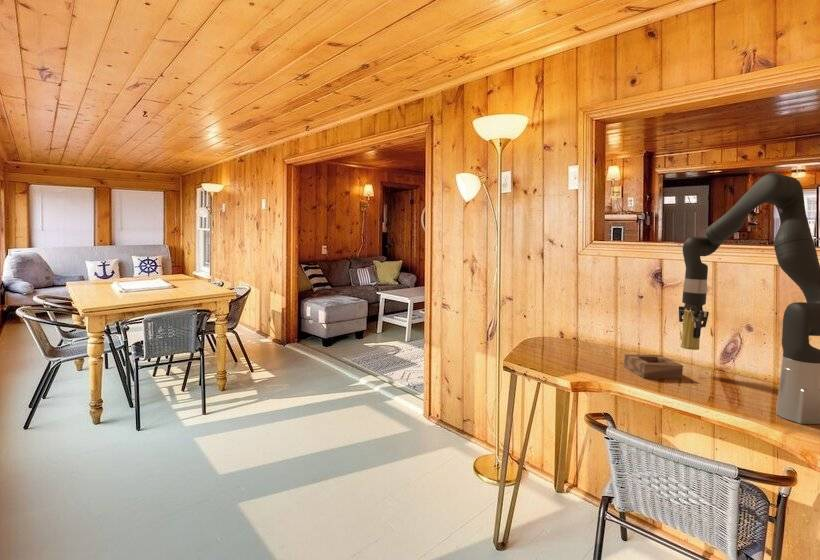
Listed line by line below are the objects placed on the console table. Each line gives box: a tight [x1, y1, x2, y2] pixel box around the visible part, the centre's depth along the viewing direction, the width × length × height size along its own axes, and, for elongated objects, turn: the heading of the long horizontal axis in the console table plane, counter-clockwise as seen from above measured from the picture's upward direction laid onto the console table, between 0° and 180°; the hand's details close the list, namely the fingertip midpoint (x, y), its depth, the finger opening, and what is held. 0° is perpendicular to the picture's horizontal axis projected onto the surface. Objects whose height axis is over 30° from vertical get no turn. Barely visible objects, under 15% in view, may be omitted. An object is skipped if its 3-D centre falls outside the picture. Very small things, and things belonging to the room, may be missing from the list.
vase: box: [680, 310, 701, 351], centre depth 175 cm, size 6×6×14 cm
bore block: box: [623, 353, 684, 380], centre depth 174 cm, size 14×14×5 cm
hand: (690, 336), depth 175 cm, fingers closed on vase, 5 cm apart
